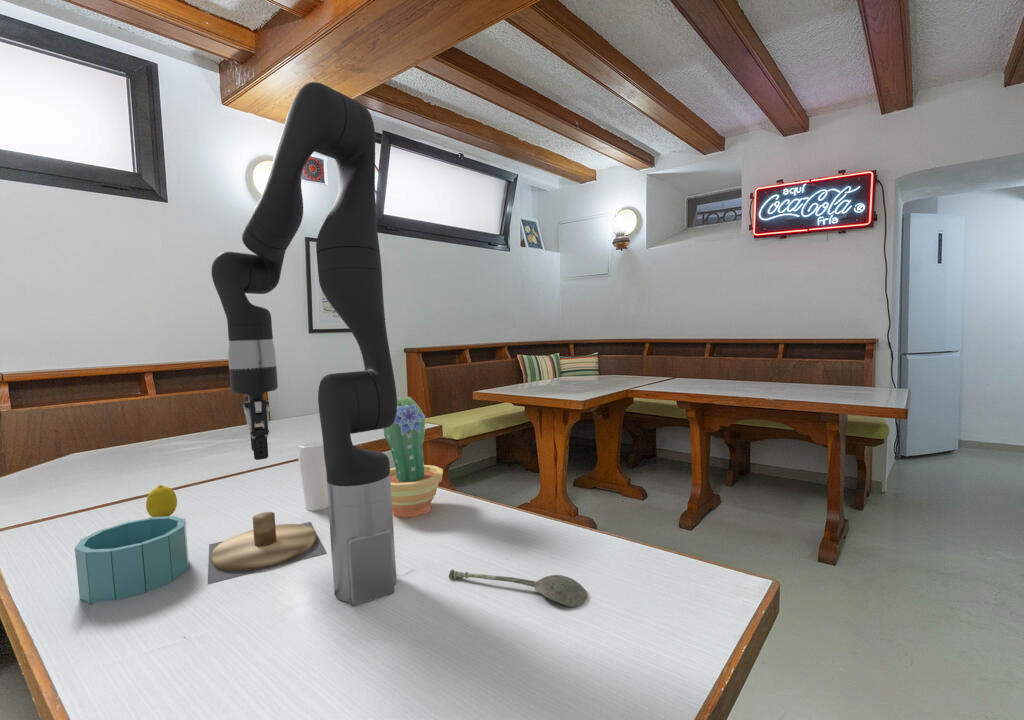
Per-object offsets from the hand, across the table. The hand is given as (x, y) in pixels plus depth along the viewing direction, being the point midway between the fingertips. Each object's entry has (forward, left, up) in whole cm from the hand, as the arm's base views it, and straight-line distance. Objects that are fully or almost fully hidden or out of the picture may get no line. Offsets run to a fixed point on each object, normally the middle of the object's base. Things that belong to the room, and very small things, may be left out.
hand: (259, 454), depth 88 cm
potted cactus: (+4, -29, -18) cm, 34 cm away
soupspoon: (-38, -31, -19) cm, 52 cm away
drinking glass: (+18, -12, -18) cm, 28 cm away
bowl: (+1, +19, -18) cm, 26 cm away
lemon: (+32, +18, -18) cm, 41 cm away
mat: (0, 0, -18) cm, 18 cm away
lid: (0, 0, -18) cm, 18 cm away
